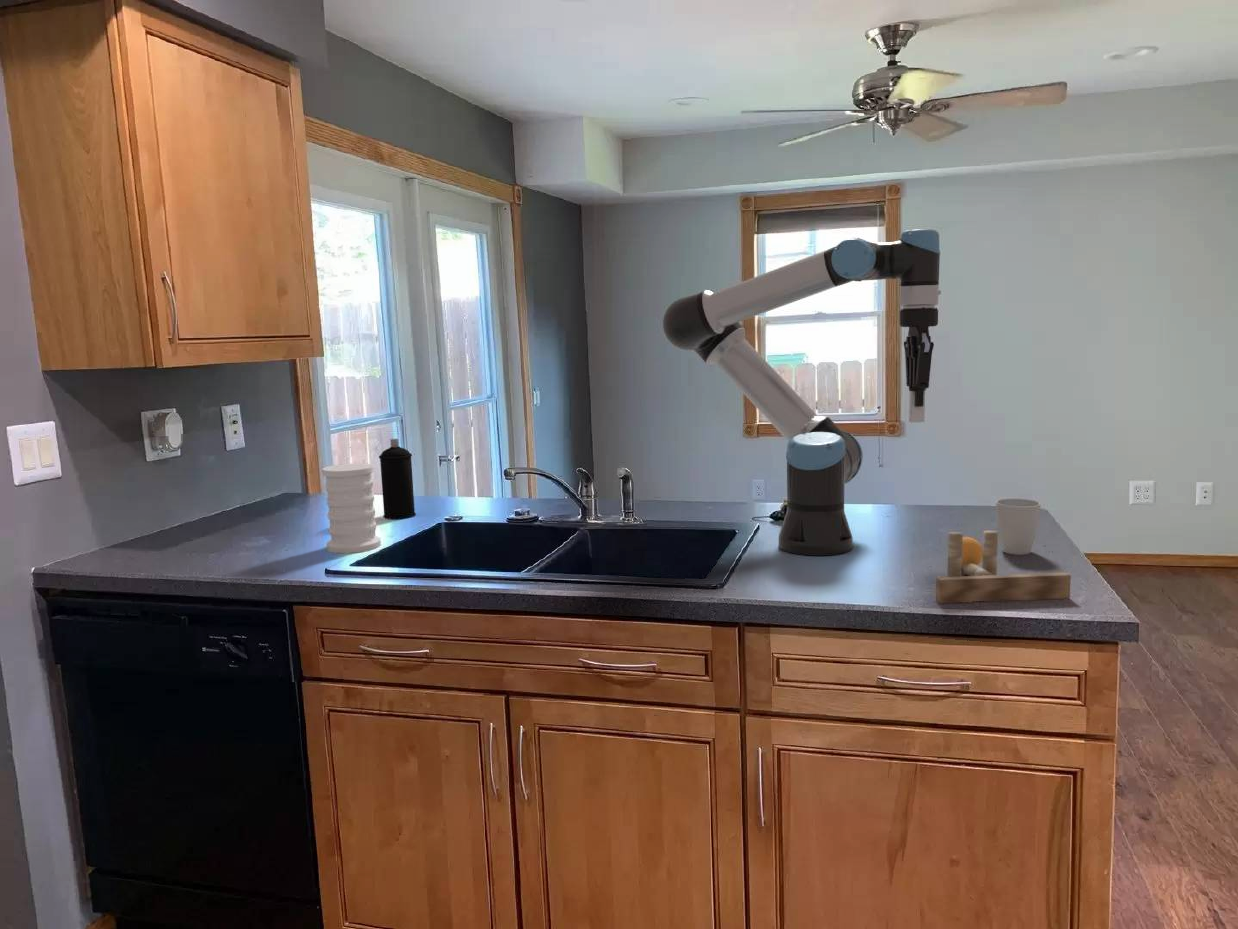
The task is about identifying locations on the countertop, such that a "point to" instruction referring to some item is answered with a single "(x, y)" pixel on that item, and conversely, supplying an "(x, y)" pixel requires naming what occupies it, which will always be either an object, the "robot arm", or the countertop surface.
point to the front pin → (975, 570)
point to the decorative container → (350, 508)
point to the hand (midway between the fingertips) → (916, 421)
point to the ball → (971, 551)
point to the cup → (1017, 524)
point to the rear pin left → (990, 551)
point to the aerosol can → (397, 482)
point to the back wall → (1003, 587)
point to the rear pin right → (954, 554)
